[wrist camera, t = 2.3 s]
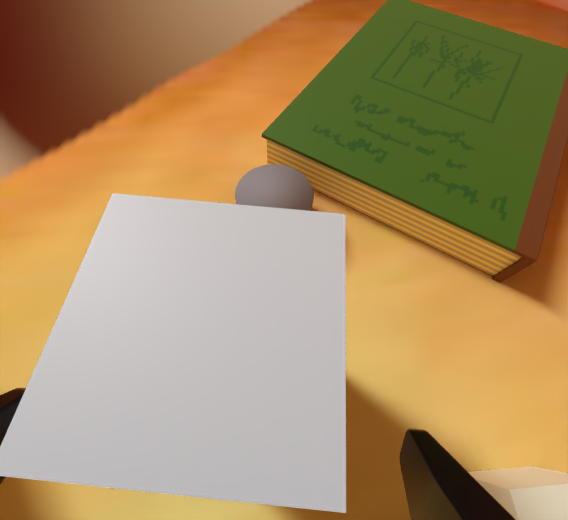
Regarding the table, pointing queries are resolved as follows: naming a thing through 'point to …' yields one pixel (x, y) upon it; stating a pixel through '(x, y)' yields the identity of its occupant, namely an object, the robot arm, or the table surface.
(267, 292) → the light grey block
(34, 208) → the table surface
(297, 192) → the grey rounded dome
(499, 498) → the cream block
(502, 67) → the hardcover book
